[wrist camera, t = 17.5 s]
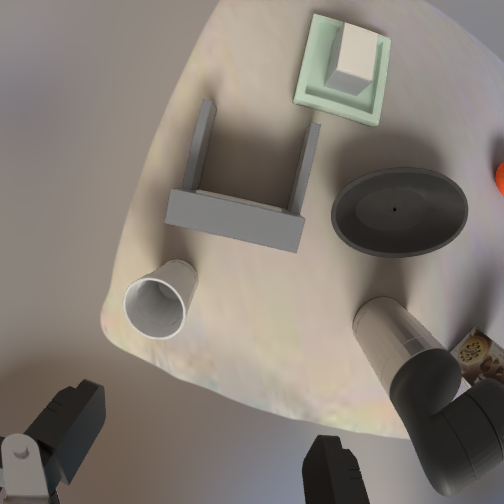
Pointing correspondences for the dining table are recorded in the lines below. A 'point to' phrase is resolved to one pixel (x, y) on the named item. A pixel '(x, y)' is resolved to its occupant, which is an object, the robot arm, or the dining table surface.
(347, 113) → the tray
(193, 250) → the dining table surface
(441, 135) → the dining table surface
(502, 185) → the clementine
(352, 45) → the white block
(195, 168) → the bay
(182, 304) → the cup
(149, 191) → the dining table surface
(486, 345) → the coffee box
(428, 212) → the bowl
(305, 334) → the dining table surface
